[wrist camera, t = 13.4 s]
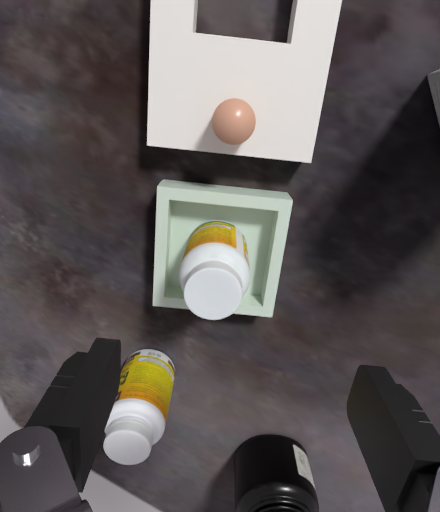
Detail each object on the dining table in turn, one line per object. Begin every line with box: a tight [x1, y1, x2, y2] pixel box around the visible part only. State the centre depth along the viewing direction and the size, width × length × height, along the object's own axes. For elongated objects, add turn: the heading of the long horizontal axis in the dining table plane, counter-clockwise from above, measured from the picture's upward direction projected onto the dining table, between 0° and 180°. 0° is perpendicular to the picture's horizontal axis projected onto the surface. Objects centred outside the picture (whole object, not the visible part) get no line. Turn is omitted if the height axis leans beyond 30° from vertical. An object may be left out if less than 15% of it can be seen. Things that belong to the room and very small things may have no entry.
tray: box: [153, 179, 293, 317], centre depth 33 cm, size 11×11×3 cm
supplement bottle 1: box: [103, 349, 175, 465], centre depth 35 cm, size 6×6×10 cm
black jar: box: [234, 435, 319, 512], centre depth 39 cm, size 10×9×12 cm
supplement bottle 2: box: [179, 220, 250, 320], centre depth 29 cm, size 5×5×10 cm
